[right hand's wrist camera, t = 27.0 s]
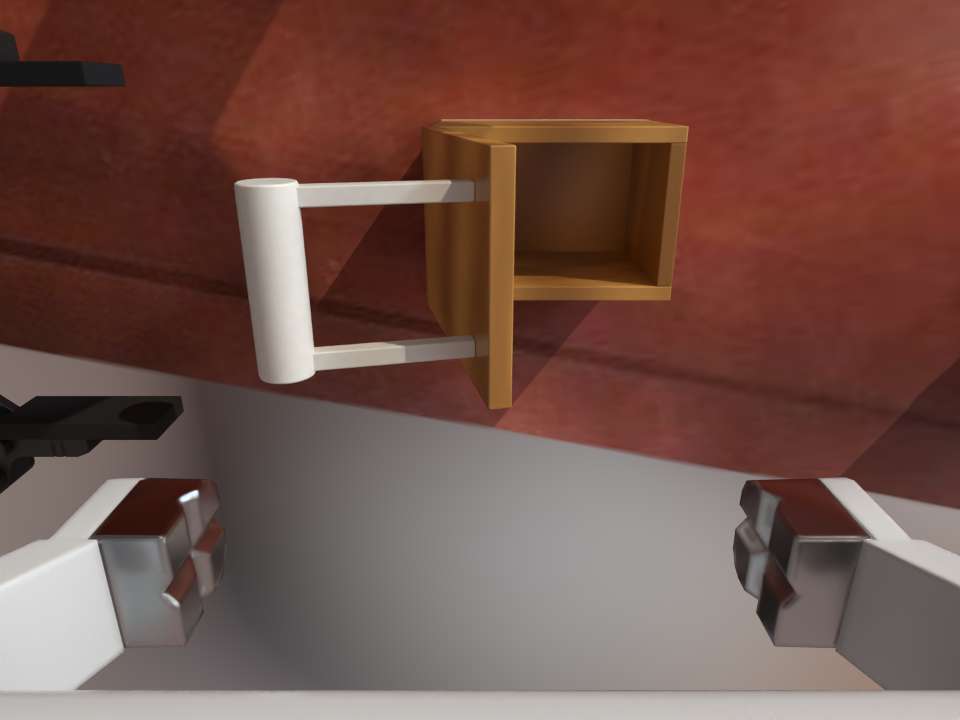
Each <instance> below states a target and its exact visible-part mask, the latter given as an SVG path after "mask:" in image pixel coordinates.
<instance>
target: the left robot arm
mask: <svg viewBox="0 0 960 720" xmlns="http://www.w3.org/2000/svg"><path fill="white" fill-rule="evenodd" d="M68 86H125V81H124V76H123V70H122V65H118V64H106V63H95V62H83V61H20V59H19V55H18V50H17V46H16V42H15V37H14V35H12V34H10V33H7V32H5V31H2V30H0V87H68ZM183 411H184V410H183V405H182V399H181V396H36V397H34V398H33V399H31V400H30V401H28V402H27V403H25V404H24V405H22V406H21V407H19V406H17V405H16V404H14V403H13V402H11V401H10V400H8V399H6V398H5V397H3V396H2V395H0V494H1V493H2V492H3V491H4V490H5V489H7V488H8V487H9V486H10V485H12V484H13V483H14V482H15V481H16V480H17V479H19V478H20V477H21V476H22V475H24V474H25V473H26V472H27V471H28V470H30V469H31V468H32V467H33V465H34V461H35V460H34V457H54V456H57V457H64V456H66V457H78V456H81V455H84V454H86V453H89V452H90V451H91V450H92V449H93V448H94V447H95V446H97V445H98V444H99V443H100V442H101V441H102V440H157V439H158V438H159V437H160V436H161V435H162V434H163V433H164V432H165V431H166V430H167V429H168V427H169V426H170V425H171V424H172V423H173V422H174V421H175V420H176V419H177V418H178V417H179V416H180V415H181V414H182V413H183Z"/></svg>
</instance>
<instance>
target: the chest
mask: <svg viewBox="0 0 960 720" xmlns="http://www.w3.org/2000/svg"><path fill="white" fill-rule="evenodd" d="M432 127H441V128H446V129H450V130H454V131H458V132H463V133H467V134H471V135H475V136H479V137H484V138H488V139H492V140H496V141H501V142H505V143H509V144H513V145H516V187H515V241H514V295H513V301H669V300H670V295H671V285H672V277H673V267H674V258H675V248H676V239H677V230H678V220H679V211H680V202H681V192H682V183H683V174H684V164H685V155H686V146H687V144H686V142H687V136H688V126H683V125H676V124H669V123H663V122H656V121H649V120H441V121H440V122H438V123H437V124H435V125H433V126H432Z"/></svg>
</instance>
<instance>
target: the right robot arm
mask: <svg viewBox="0 0 960 720" xmlns="http://www.w3.org/2000/svg"><path fill="white" fill-rule="evenodd" d="M219 506H220V500H219V495H218V490H217V486H216V484H215V483H214V482H213V481H212V480H211V479H168V478H147V479H145V478H114V479H109V480H106V481H105V482H104V483H103V484H102V485H101V486H100V487H99V488H98V490H96V491H95V492H94V494H93V495H92V496H91V497H90V498H89V499H88V500H87V501H86V502H85V503H84V504H83V505H82V506H81V507H80V508H79V509H78V510H77V511H76V512H75V513H74V514H73V515H72V516H71V517H70V518H69V519H68V520H67V521H66V522H65V523H64V524H63V525H62V526H61V527H60V528H59V529H58V530H57V531H56V532H55V533H54V534H53V535H52V536H51V537H50V538H49V539H48V540H35V541H33V542H31V543H29V544H26V545H24V546H22V547H20V548H18V549H15V550H13V551H11V552H9V553H6V554H4V555H2V556H0V720H960V556H958V555H956V554H954V553H951V552H949V551H947V550H945V549H942V548H940V547H938V546H936V545H934V544H931V543H929V542H927V541H925V540H912V539H911V538H910V537H909V536H908V535H907V534H906V533H905V532H904V531H903V530H902V529H901V528H900V527H899V526H898V525H897V524H896V523H895V522H894V521H893V520H892V519H891V518H890V517H889V516H888V515H887V514H886V513H885V512H884V511H883V510H882V509H881V508H880V507H879V506H878V505H877V504H876V503H875V501H873V499H872V498H871V497H870V496H869V495H868V494H867V493H866V492H865V491H864V490H863V489H862V488H861V487H860V486H859V485H858V484H857V483H856V482H855V481H854V480H851V479H848V478H846V477H842V478H816V479H778V480H749V481H746V483H745V485H744V487H743V489H742V494H741V499H740V506H741V507H742V509H743V510H744V512H745V514H746V515H747V518H746V519H745V520H744V521H743V522H742V523H741V524H740V525H739V526H738V527H737V528H736V530H735V537H734V545H733V552H734V563H735V568H736V572H737V575H738V578H739V580H740V582H741V584H742V586H743V588H744V590H745V591H746V592H747V593H749V594H750V595H752V596H754V597H755V598H757V599H758V605H757V611H756V613H757V615H758V616H759V618H760V620H761V622H762V624H763V626H764V627H765V629H766V631H767V633H768V635H769V637H770V638H771V640H772V642H773V644H774V646H779V647H815V648H836V652H838V653H839V654H840V655H841V656H843V657H844V658H845V659H847V660H848V661H849V662H850V663H852V664H853V665H854V666H855V667H857V668H858V669H859V670H860V671H862V672H863V673H864V674H866V675H867V676H868V677H869V678H871V679H872V680H873V681H874V682H876V683H877V684H878V685H879V686H881V687H882V688H883V689H884V690H76V689H77V688H78V687H79V686H81V685H82V684H83V683H85V682H86V681H87V680H88V679H90V678H91V677H92V676H93V675H95V674H96V673H97V672H98V671H100V670H101V669H102V668H104V667H105V666H106V665H107V664H109V663H110V662H111V661H113V660H114V659H115V658H116V657H118V656H119V655H120V654H121V653H123V652H124V648H144V647H179V646H186V644H187V642H188V640H189V639H190V637H191V635H192V633H193V631H194V629H195V627H196V626H197V624H198V622H199V620H200V618H201V616H202V615H203V613H204V611H203V605H202V599H203V598H205V597H206V596H208V595H210V594H211V593H213V592H214V591H215V590H216V588H217V586H218V584H219V582H220V580H221V578H222V576H223V571H224V567H225V562H226V551H227V550H226V549H227V542H226V536H225V529H224V528H223V527H222V526H221V525H220V524H219V523H218V522H217V521H216V520H215V519H214V518H213V515H214V514H215V512H216V510H217V509H218V507H219Z"/></svg>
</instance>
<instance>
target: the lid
mask: <svg viewBox="0 0 960 720" xmlns="http://www.w3.org/2000/svg"><path fill="white" fill-rule="evenodd" d="M422 152H423V181H390V182H354V183H318V184H298V182H297V181H296V180H293V179H286V178H260V179H248V180H241V181H238V182H235V183H234V191H235V198H236V206H237V214H238V221H239V229H240V236H241V244H242V252H243V259H244V267H245V275H246V282H247V290H248V298H249V305H250V313H251V320H252V328H253V336H254V343H255V351H256V359H257V366H258V374H259V377H260V379H261V380H262V381H264V382H267V383H272V384H290V383H296V382H300V381H303V380H306V379H308V378H310V377H312V376H313V375H314V374H315V372H316V371H319V370H330V369H342V368H353V367H365V366H376V365H388V364H400V363H411V362H423V361H434V360H446V359H457V358H459V359H460V361H461V363H462V365H463V366H464V368H465V370H466V372H467V373H468V375H469V377H470V379H471V380H472V382H473V384H474V385H475V387H476V389H477V391H478V392H479V394H480V396H481V398H482V399H483V401H484V403H485V405H486V406H487V408H488V410H495V409H504V408H511V403H512V349H513V295H514V241H515V187H516V145H513V144H509V143H505V142H501V141H496V140H492V139H488V138H484V137H479V136H475V135H471V134H467V133H463V132H458V131H454V130H450V129H446V128H441V127H422ZM416 203H424V218H425V251H426V284H427V304H428V306H429V307H430V309H431V311H432V313H433V314H434V316H435V318H436V320H437V321H438V323H439V325H440V326H441V328H442V330H443V332H444V333H445V335H446V337H439V338H427V339H414V340H401V341H389V342H376V343H363V344H351V345H338V346H326V347H314V342H313V332H312V322H311V311H310V301H309V290H308V280H307V270H306V259H305V249H304V239H303V228H302V218H301V208H302V207H330V206H359V205H387V204H416Z"/></svg>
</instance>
